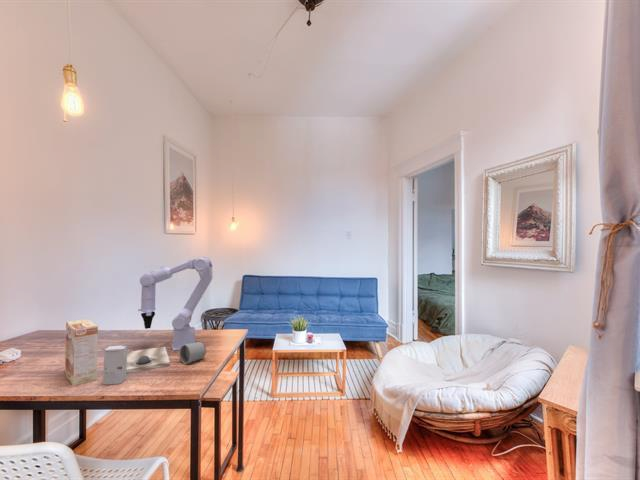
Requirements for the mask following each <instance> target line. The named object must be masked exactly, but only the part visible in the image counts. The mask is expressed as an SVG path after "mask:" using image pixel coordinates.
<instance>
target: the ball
mask: <svg viewBox="0 0 640 480" xmlns="http://www.w3.org/2000/svg"><path fill="white" fill-rule="evenodd" d="M148 363H149V357H148V356H141V357H140V358H139V360H138V364H139V365H144V364H148Z"/></svg>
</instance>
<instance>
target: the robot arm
mask: <svg viewBox="0 0 640 480" xmlns="http://www.w3.org/2000/svg"><path fill="white" fill-rule="evenodd" d="M187 269H189V270H195V271H196V272H197V273H198V275H199V278H200V279H199V281H198V283H197V284H196V286H195V288H194V289H193V291H192V293H191V294H190V296H189V298H188V300H187V301H186V303H185V304H184V306H183V308H182V309H181V311H180V312H179V313H178V314H177V316H175V317H174V318H173V320H172V322H171V326H172V328H173V331H172V334H173V335H172V336H173V338H172V339H173V343H172V344H171V349H172V351H180V349H181V347H182V346H183V345H185V344H190V343H195V342H196V328H195V326H190V323H191V322H192V316H193V315H194V311H195V310H196V308H197V306H198V305H199V302H200V301H201V300H202V297H204V295H205V292H206V291H207V289H208V287H209V285H210V284H211V282H212V280H213V263H212V261H211V259H210V258H208V257H206V256H203V257H197V258H193V259H190V260H187V261H186V260H185V261H184V262H181V263H179V264H177V265H174V266H172V267H169V266H161V267H160V268H159V269H156V270H151V271H150V273H144V274H143V275H141V277H140V278H139V283H140V285H141V296H140V297H141V299H140V301H141V302H140V303H141V304H140V308H138V310H137V311H138V312H141V318H142V319H143V320H142V321H143V324H144V325H143V326H144V328H145V330H147V329H151V328H152V322H153V319H154V317H155V316H156V312H155V311H156V285H157V284H159V283H161V282H164V281H167V280H168V279H171V278H172V276H173V275H174V274H177V273H180V272H183V271H185V270H187Z"/></svg>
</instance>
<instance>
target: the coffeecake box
mask: <svg viewBox="0 0 640 480" xmlns="http://www.w3.org/2000/svg"><path fill="white" fill-rule="evenodd" d="M65 322H66V323H65V328H66V329H65V358H64V360H65V363H64V365H65V366H64V375H65V376H66V378H67V379H68V381H69V382H70V384H71V386H73V387H74V386H79V385H82V384H83V385H84V384H86V383H90V382H94V381H97V377H98V376H97V374H98V373H97V372H98V371H97V370H98V341H99V340H98V334H99V333H98V331H99V328H98V327H99V326H98V325H97V324H96V323H94V322H93V321H92V320H90V319H89V318H84V319H77V320H76V319H75V320H69V321H65Z"/></svg>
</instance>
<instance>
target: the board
mask: <svg viewBox="0 0 640 480" xmlns="http://www.w3.org/2000/svg"><path fill="white" fill-rule="evenodd" d="M166 348H167V347H166V346H159V347H153V348H151V347H150V348H145V349H138V350H132V351H127V367H126V375H127V374H131V373H132V374H133V373H137V372H143V371H150V370H154V369H161V368H165V367H166V368H167V367H170V366H171V363H170V362H171V361H170V358H169V355H168V354H169V353H168V352H167V349H166ZM141 356H148V357H149V363H148V364H144V365H139V364H138V360H139V358H140V357H141Z"/></svg>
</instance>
